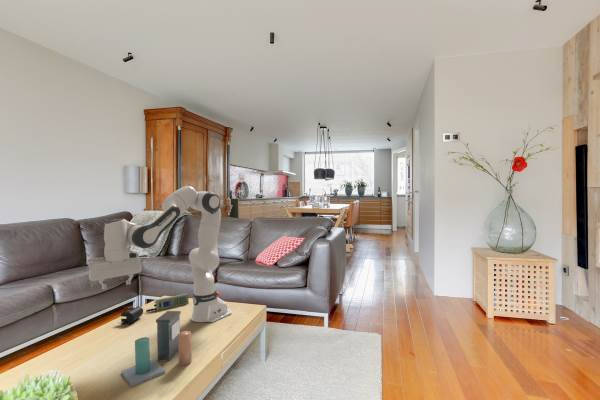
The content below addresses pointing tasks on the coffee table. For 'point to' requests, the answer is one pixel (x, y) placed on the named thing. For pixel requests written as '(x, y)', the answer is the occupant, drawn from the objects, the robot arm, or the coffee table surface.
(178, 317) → the block
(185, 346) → the terracotta canister
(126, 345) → the coffee table surface
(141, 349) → the teal canister
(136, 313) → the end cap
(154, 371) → the mat
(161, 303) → the handheld radio
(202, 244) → the robot arm
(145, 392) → the coffee table surface
